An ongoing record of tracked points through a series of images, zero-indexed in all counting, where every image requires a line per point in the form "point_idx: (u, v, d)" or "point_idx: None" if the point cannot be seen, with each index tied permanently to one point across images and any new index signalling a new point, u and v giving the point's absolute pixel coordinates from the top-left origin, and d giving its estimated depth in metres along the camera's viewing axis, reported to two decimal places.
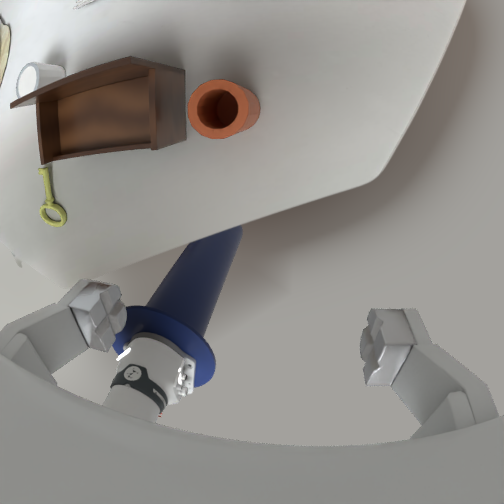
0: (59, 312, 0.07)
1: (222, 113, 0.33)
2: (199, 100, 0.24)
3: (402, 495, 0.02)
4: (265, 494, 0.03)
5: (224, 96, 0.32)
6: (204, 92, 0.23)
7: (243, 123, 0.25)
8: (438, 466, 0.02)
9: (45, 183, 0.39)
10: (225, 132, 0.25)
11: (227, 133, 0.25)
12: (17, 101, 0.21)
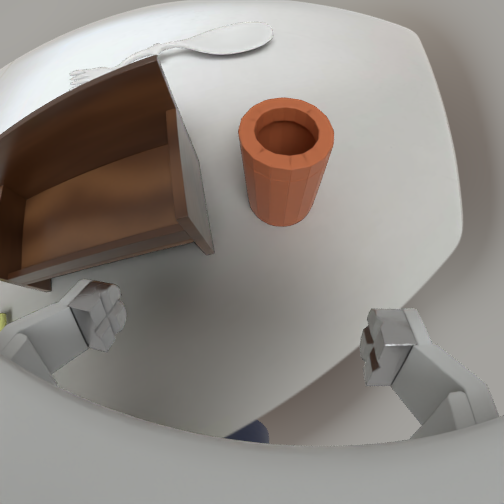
0: (59, 312, 0.07)
1: None
2: (255, 124, 0.17)
3: (402, 495, 0.02)
4: (265, 494, 0.03)
5: None
6: (261, 113, 0.17)
7: (332, 142, 0.16)
8: (438, 466, 0.02)
9: None
10: (310, 157, 0.16)
11: (314, 158, 0.16)
12: None
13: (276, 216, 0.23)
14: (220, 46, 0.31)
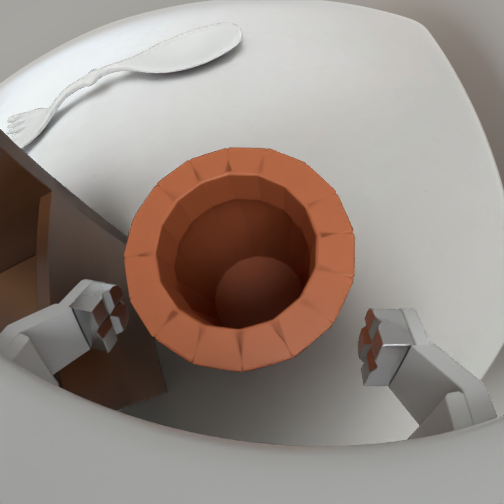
0: (61, 313, 0.07)
1: (232, 317, 0.16)
2: (161, 233, 0.07)
3: (402, 495, 0.02)
4: (265, 494, 0.03)
5: (226, 277, 0.16)
6: (174, 200, 0.07)
7: (351, 270, 0.06)
8: (438, 466, 0.02)
9: None
10: (294, 329, 0.06)
11: (303, 331, 0.06)
12: None
13: None
14: (172, 61, 0.23)
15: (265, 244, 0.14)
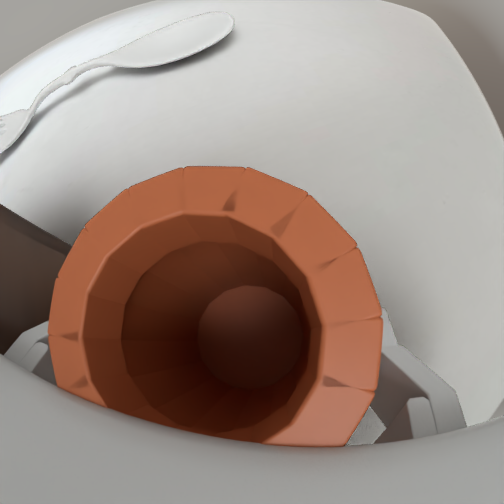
0: None
1: (217, 357, 0.13)
2: (89, 305, 0.05)
3: (402, 495, 0.02)
4: (265, 494, 0.03)
5: (209, 310, 0.14)
6: (103, 255, 0.05)
7: (373, 381, 0.04)
8: (438, 466, 0.02)
9: None
10: None
11: None
12: None
13: None
14: (156, 54, 0.20)
15: (255, 276, 0.11)
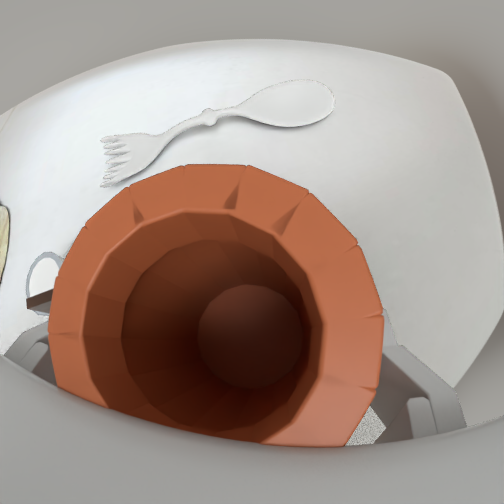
0: None
1: (217, 356, 0.13)
2: (89, 303, 0.05)
3: (402, 495, 0.02)
4: (265, 494, 0.03)
5: (210, 309, 0.14)
6: (103, 253, 0.05)
7: (375, 379, 0.04)
8: (438, 466, 0.02)
9: None
10: None
11: None
12: (41, 296, 0.15)
13: None
14: (281, 114, 0.33)
15: (255, 275, 0.11)
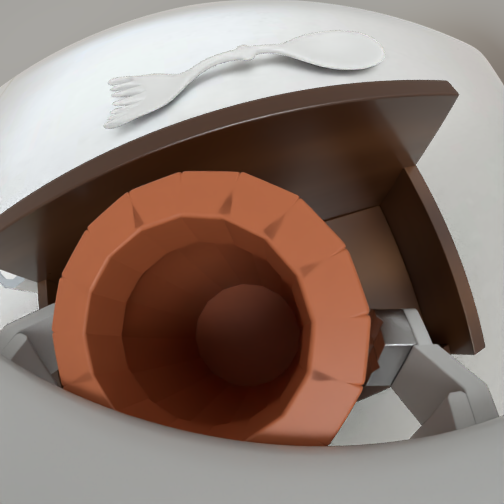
0: None
1: (215, 354, 0.13)
2: (92, 303, 0.05)
3: (402, 495, 0.02)
4: (265, 494, 0.03)
5: (208, 309, 0.14)
6: (105, 256, 0.05)
7: (361, 376, 0.04)
8: (438, 466, 0.02)
9: None
10: None
11: None
12: None
13: None
14: (327, 57, 0.25)
15: (252, 275, 0.12)
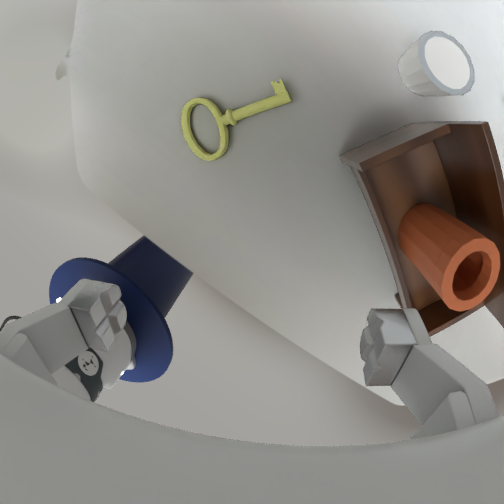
0: (59, 312, 0.07)
1: None
2: (479, 250, 0.15)
3: (402, 495, 0.02)
4: (265, 494, 0.03)
5: None
6: (488, 252, 0.15)
7: (461, 310, 0.17)
8: (438, 466, 0.02)
9: (263, 105, 0.25)
10: (450, 299, 0.17)
11: (449, 302, 0.17)
12: (493, 149, 0.13)
13: (406, 241, 0.23)
14: None
15: None
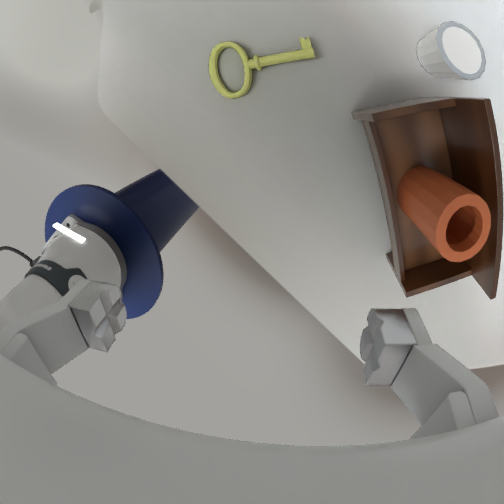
0: (59, 312, 0.07)
1: None
2: (472, 205, 0.17)
3: (402, 495, 0.02)
4: (265, 494, 0.03)
5: None
6: (480, 210, 0.17)
7: (451, 260, 0.19)
8: (438, 466, 0.02)
9: (289, 56, 0.25)
10: (442, 245, 0.19)
11: (442, 248, 0.19)
12: (492, 122, 0.14)
13: (405, 195, 0.25)
14: None
15: None
